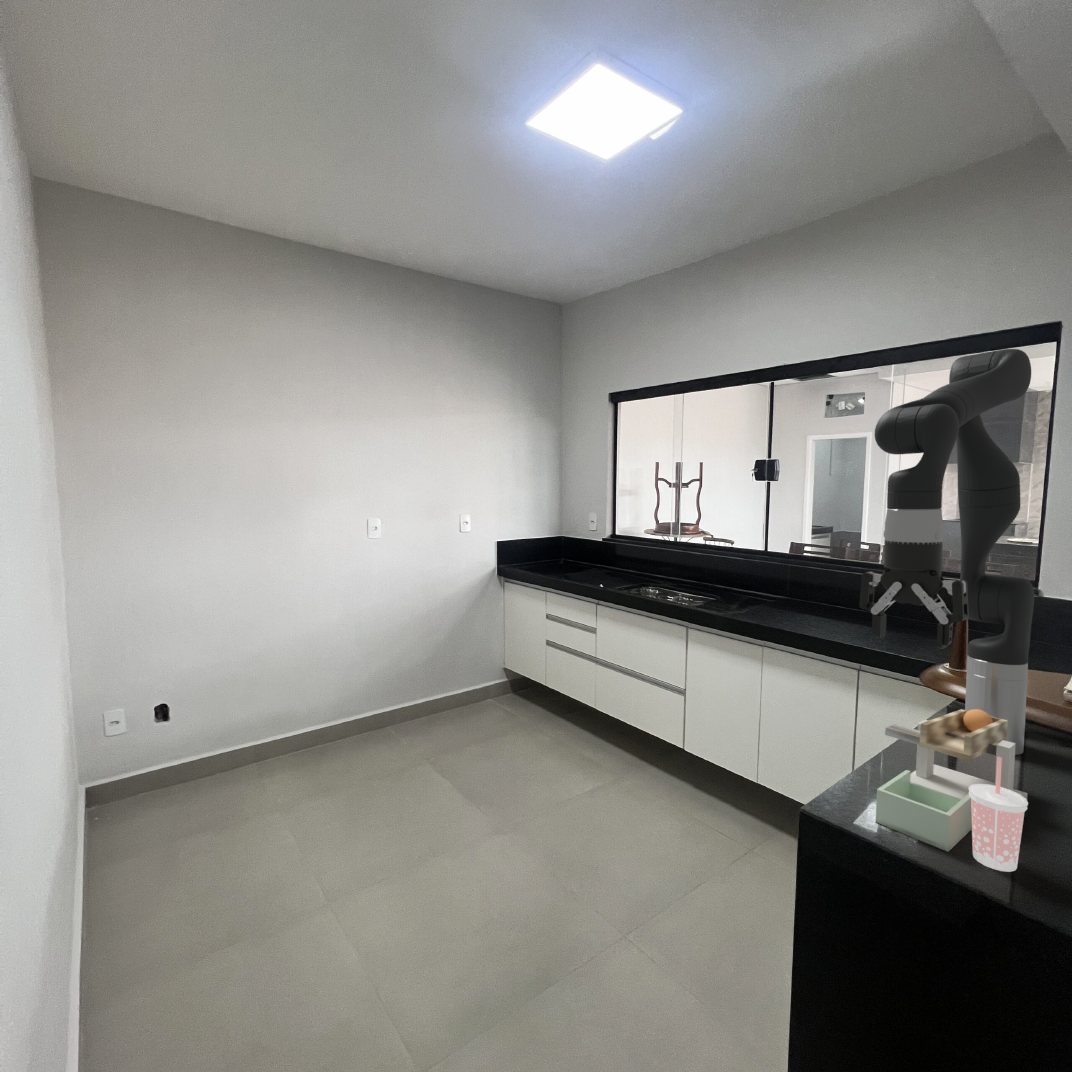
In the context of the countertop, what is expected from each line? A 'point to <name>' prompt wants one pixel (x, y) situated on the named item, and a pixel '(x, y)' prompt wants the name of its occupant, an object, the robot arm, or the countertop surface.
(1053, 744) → the countertop surface
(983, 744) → the tipping chute
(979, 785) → the beverage cup
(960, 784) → the pivot stand
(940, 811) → the cup
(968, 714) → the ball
